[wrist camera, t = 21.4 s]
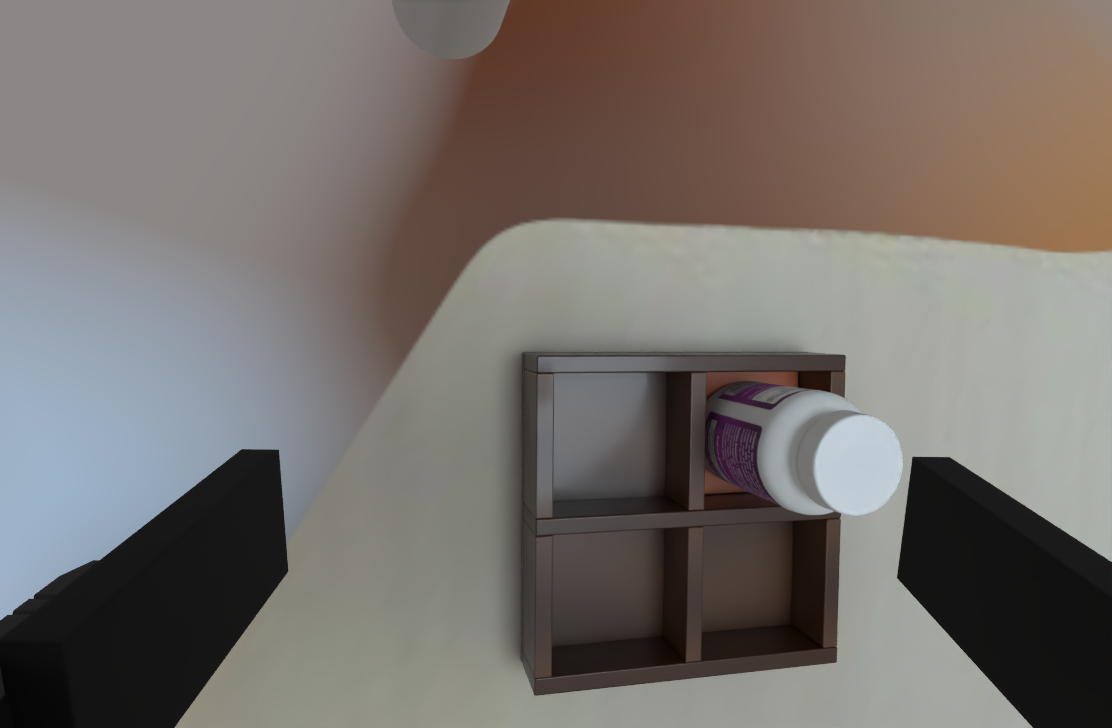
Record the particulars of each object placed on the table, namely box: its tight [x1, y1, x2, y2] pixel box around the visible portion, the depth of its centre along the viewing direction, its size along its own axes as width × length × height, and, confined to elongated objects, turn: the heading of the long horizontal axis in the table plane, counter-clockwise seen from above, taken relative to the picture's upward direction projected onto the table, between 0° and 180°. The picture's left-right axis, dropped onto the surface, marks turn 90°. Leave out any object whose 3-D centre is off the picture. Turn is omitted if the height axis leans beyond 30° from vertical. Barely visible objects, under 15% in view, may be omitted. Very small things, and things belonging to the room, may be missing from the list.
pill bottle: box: [705, 381, 903, 516], centre depth 32 cm, size 5×5×10 cm
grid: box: [521, 352, 846, 695], centre depth 35 cm, size 15×15×4 cm
